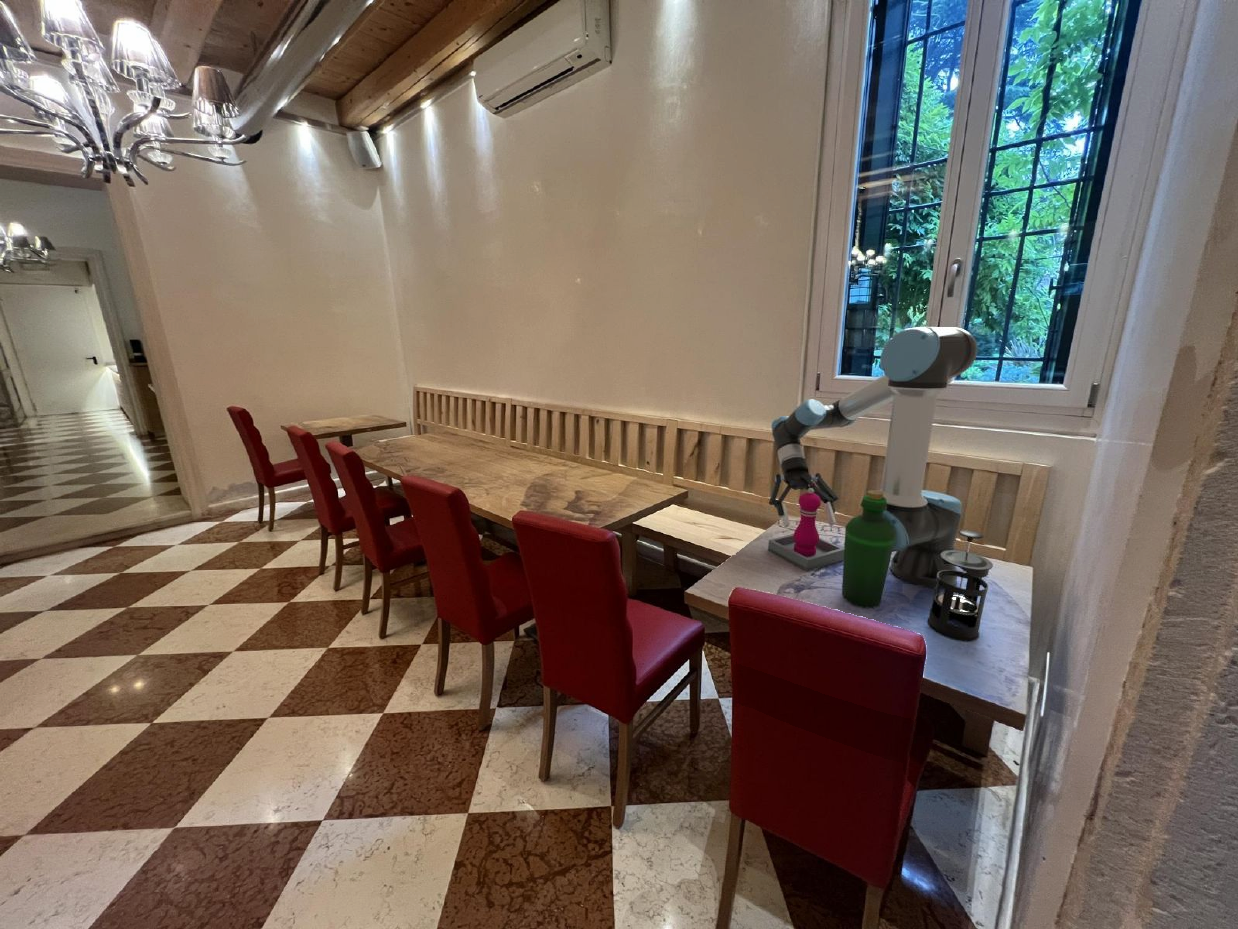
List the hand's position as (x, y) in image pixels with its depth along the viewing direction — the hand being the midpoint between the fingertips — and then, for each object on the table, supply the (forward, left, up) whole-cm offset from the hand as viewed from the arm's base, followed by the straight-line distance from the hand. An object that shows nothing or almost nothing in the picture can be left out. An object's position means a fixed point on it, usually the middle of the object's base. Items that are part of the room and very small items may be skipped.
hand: (810, 525), depth 134 cm
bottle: (-23, +6, -10) cm, 26 cm away
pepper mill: (+2, -1, -9) cm, 10 cm away
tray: (+1, -1, -10) cm, 10 cm away
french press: (-40, -2, -11) cm, 41 cm away
